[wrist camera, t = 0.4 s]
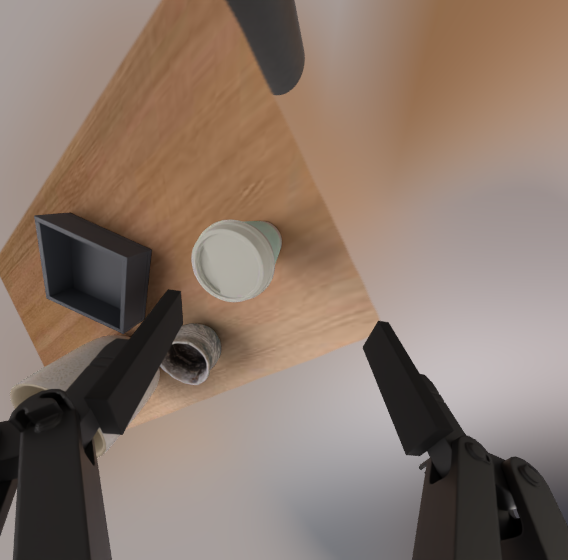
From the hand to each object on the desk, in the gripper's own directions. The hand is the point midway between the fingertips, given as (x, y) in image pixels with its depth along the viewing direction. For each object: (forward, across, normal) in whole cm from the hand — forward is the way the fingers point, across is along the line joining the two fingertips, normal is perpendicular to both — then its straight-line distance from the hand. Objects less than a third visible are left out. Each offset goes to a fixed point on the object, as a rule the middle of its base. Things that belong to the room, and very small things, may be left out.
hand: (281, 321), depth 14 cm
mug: (+19, -12, -23) cm, 32 cm away
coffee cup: (+19, -2, -2) cm, 19 cm away
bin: (+24, -29, -16) cm, 41 cm away
